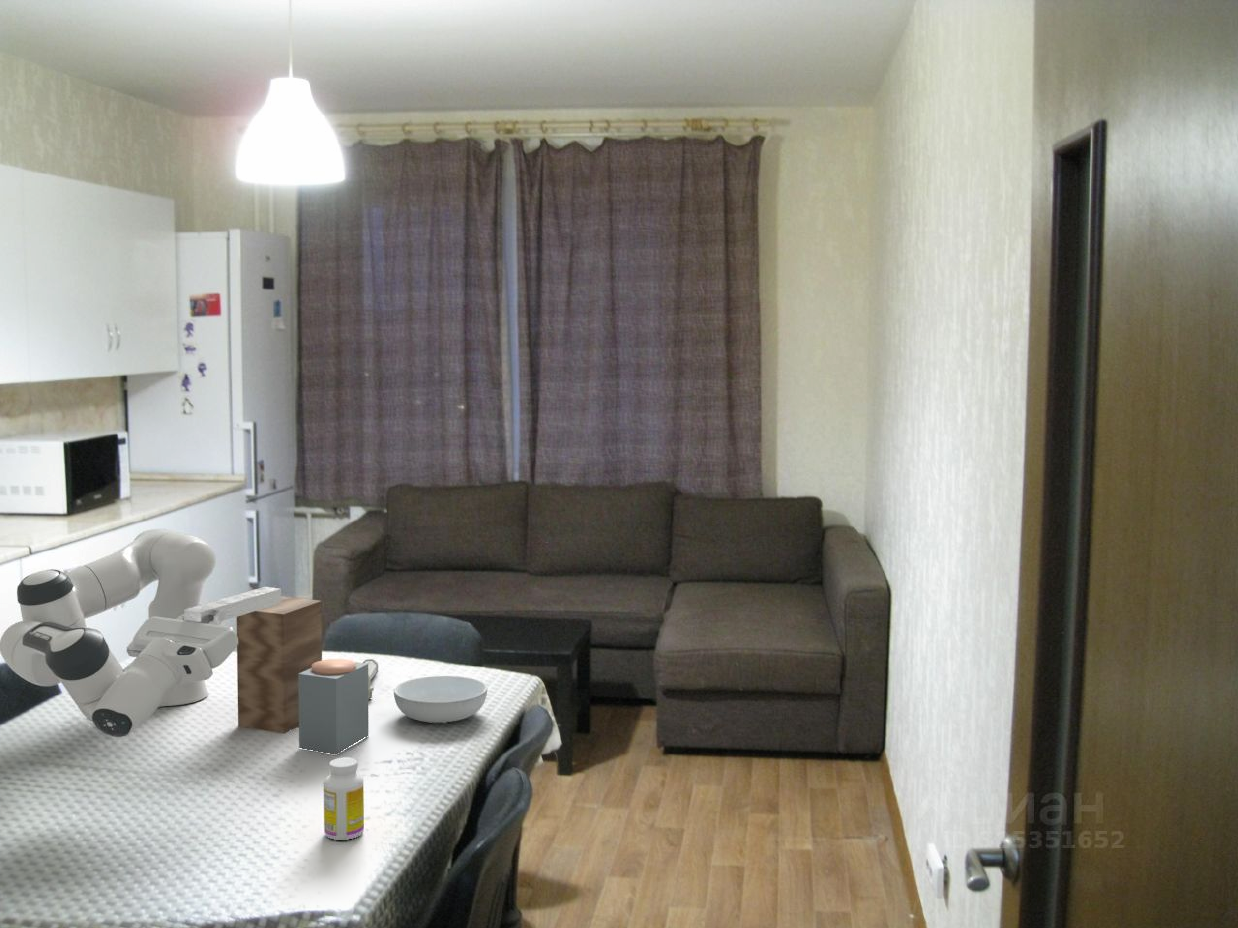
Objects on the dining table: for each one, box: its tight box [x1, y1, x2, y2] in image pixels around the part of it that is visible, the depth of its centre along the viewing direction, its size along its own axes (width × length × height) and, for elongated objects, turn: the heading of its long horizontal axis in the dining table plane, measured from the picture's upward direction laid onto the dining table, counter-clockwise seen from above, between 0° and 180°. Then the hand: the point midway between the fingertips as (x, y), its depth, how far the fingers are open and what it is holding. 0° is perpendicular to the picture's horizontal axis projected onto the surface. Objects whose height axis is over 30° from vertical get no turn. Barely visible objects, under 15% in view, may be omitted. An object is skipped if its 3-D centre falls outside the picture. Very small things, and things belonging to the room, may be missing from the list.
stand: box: [236, 595, 323, 734], centre depth 262 cm, size 12×14×26 cm
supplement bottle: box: [323, 757, 365, 841], centre depth 205 cm, size 7×7×13 cm
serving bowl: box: [393, 675, 489, 724], centre depth 268 cm, size 21×21×7 cm
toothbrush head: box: [362, 658, 379, 700], centre depth 289 cm, size 5×7×25 cm
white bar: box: [184, 586, 282, 624], centre depth 237 cm, size 4×24×3 cm, turn 159°
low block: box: [298, 658, 369, 755], centre depth 249 cm, size 9×12×17 cm
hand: (210, 611), depth 230 cm, fingers closed on white bar, 4 cm apart
